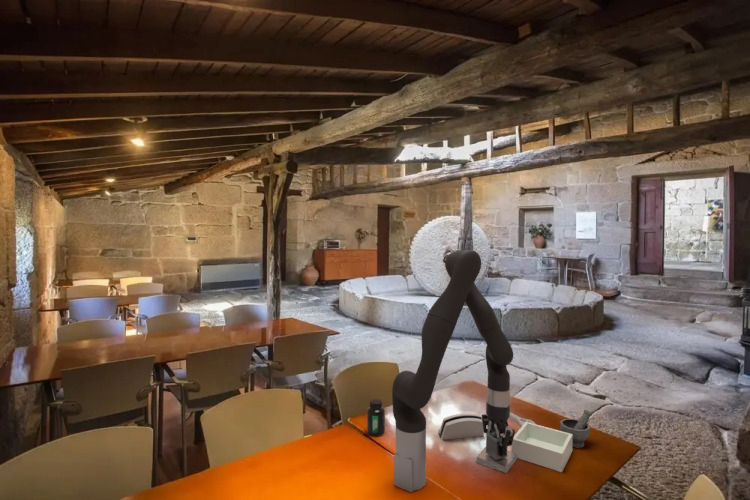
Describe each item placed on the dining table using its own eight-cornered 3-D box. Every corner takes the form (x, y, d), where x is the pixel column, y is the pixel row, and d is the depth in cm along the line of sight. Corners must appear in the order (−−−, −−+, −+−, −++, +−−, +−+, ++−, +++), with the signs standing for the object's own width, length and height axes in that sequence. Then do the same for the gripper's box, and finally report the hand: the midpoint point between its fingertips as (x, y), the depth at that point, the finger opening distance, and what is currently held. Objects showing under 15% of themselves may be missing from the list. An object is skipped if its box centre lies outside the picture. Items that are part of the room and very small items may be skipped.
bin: (562, 472, 130) (562, 453, 130) (511, 456, 140) (511, 438, 139) (572, 451, 143) (572, 434, 143) (525, 437, 153) (525, 421, 152)
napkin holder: (478, 429, 159) (482, 409, 155) (483, 439, 155) (487, 418, 151) (437, 433, 156) (440, 412, 152) (441, 443, 152) (444, 422, 148)
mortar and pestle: (569, 450, 143) (569, 416, 143) (554, 437, 153) (555, 405, 152) (599, 448, 145) (600, 415, 144) (582, 436, 154) (583, 404, 154)
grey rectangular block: (495, 460, 133) (496, 438, 133) (485, 452, 137) (486, 432, 137) (507, 456, 135) (507, 435, 135) (497, 449, 139) (497, 429, 139)
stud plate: (506, 473, 130) (506, 452, 129) (476, 462, 136) (476, 442, 135) (516, 459, 138) (516, 439, 137) (487, 450, 144) (487, 430, 143)
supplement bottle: (377, 438, 152) (377, 406, 151) (363, 433, 156) (363, 402, 155) (388, 431, 157) (388, 400, 157) (374, 426, 161) (374, 396, 161)
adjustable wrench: (488, 406, 182) (488, 402, 182) (500, 404, 184) (500, 400, 184) (526, 431, 158) (526, 427, 158) (539, 429, 160) (539, 424, 160)
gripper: (475, 395, 140) (474, 444, 141) (504, 411, 127) (502, 465, 128) (492, 392, 143) (491, 440, 144) (522, 408, 130) (521, 460, 131)
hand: (496, 451), depth 136 cm, fingers closed on grey rectangular block, 4 cm apart
